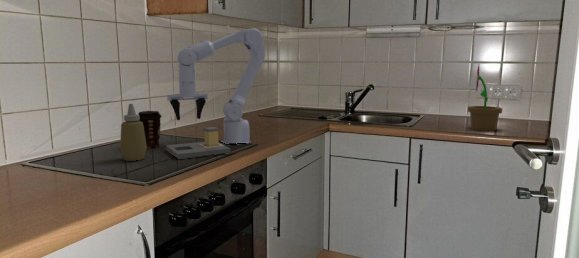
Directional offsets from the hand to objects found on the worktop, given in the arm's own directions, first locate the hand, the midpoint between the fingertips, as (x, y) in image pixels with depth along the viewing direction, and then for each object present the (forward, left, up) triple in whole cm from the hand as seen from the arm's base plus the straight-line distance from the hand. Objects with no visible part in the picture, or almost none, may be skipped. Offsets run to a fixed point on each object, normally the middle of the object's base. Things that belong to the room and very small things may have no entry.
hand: (188, 119), depth 155 cm
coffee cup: (+13, -5, -10) cm, 17 cm away
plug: (-4, +13, -10) cm, 17 cm away
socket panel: (+1, +13, -10) cm, 16 cm away
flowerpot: (-129, +31, -10) cm, 133 cm away
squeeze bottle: (+22, +13, -10) cm, 27 cm away
